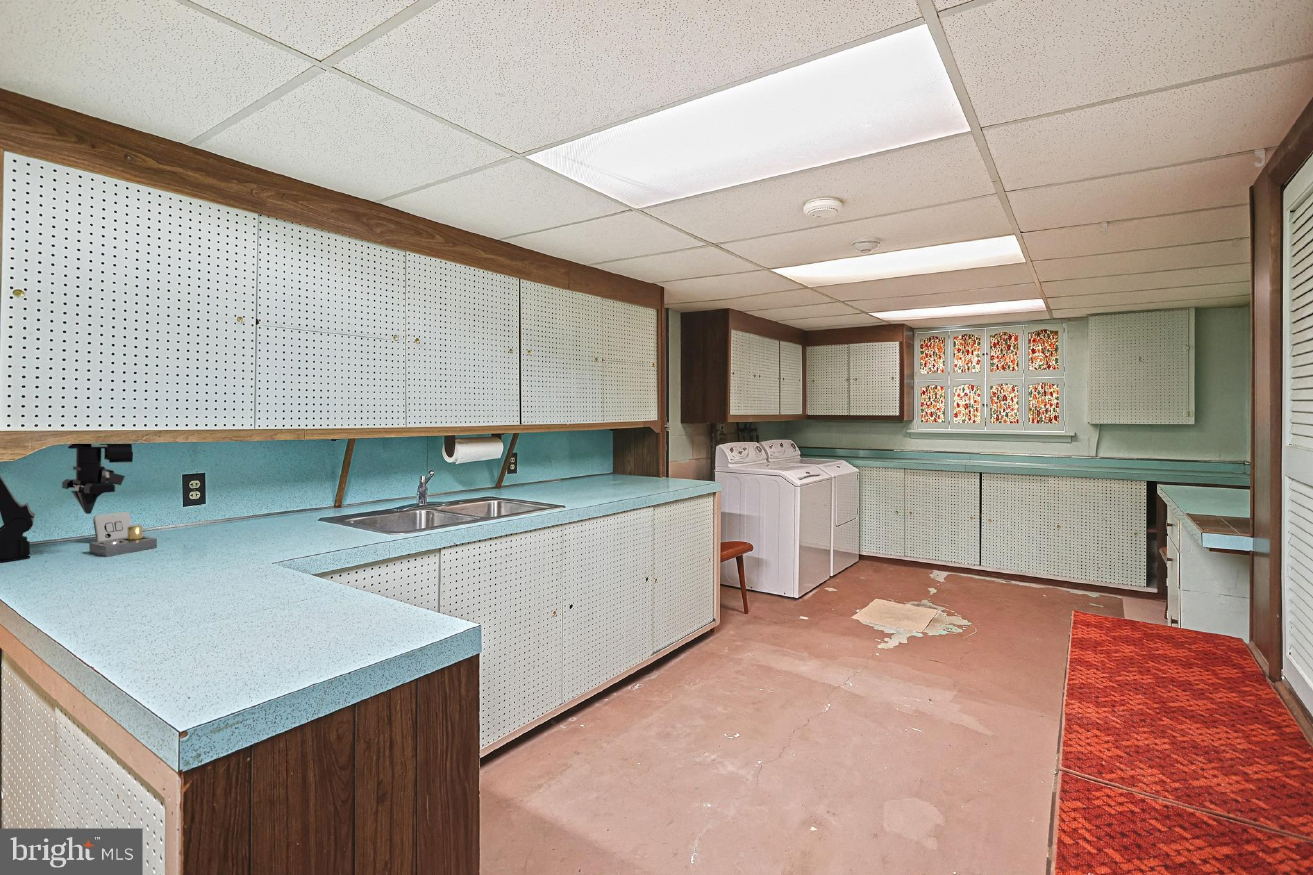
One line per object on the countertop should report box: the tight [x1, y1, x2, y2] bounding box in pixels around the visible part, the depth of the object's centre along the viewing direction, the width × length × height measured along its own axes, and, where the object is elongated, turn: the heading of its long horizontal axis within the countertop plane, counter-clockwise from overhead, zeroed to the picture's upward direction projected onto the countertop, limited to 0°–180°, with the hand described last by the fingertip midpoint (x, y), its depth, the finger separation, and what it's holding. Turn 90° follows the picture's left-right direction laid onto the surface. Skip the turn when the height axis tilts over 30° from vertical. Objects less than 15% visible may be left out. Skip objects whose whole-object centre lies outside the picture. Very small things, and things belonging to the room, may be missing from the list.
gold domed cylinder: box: [127, 524, 143, 541], centre depth 194 cm, size 4×4×7 cm
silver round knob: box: [104, 540, 120, 545], centre depth 189 cm, size 4×4×4 cm
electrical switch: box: [92, 511, 132, 542], centre depth 205 cm, size 9×5×9 cm, turn 152°
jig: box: [88, 535, 158, 558], centre depth 192 cm, size 13×10×3 cm
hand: (88, 513), depth 190 cm, fingers closed
